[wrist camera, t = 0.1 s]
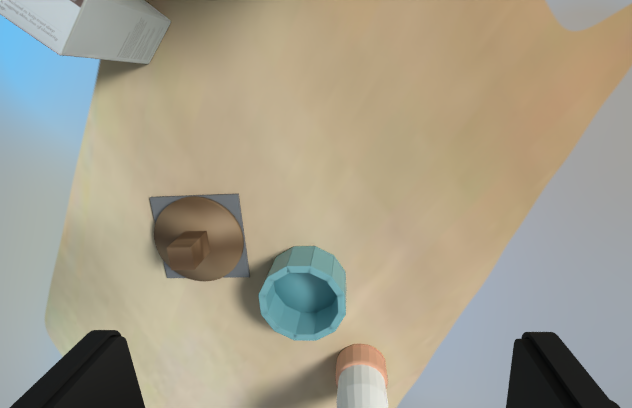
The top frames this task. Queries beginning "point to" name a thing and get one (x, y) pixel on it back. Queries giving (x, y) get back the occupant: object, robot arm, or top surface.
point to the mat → (227, 201)
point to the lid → (199, 238)
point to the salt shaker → (361, 378)
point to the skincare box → (91, 27)
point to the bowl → (304, 293)
